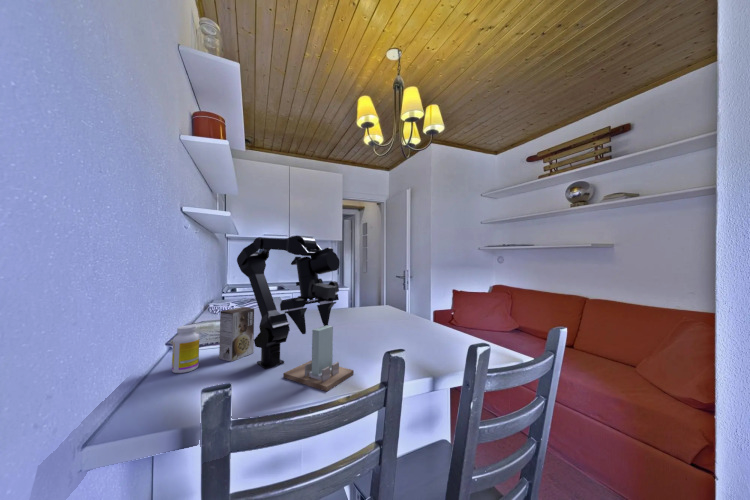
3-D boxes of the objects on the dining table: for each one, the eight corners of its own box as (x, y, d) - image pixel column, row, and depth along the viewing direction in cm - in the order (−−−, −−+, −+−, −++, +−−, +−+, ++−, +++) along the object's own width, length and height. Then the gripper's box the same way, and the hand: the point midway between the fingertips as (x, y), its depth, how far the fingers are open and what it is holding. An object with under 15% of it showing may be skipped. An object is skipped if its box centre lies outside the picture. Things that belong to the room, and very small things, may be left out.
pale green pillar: (309, 376, 73) (310, 329, 74) (323, 369, 78) (324, 324, 79) (320, 380, 71) (321, 331, 72) (334, 372, 76) (335, 326, 77)
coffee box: (241, 350, 97) (242, 306, 98) (254, 353, 95) (255, 307, 96) (218, 359, 89) (219, 310, 90) (231, 362, 87) (233, 312, 87)
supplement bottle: (203, 366, 83) (205, 324, 83) (184, 375, 76) (185, 330, 77) (186, 364, 84) (188, 323, 85) (165, 372, 78) (167, 328, 78)
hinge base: (283, 377, 75) (283, 362, 76) (312, 363, 86) (313, 350, 86) (326, 391, 67) (327, 374, 68) (353, 374, 78) (353, 359, 78)
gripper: (305, 273, 67) (313, 336, 65) (348, 271, 83) (356, 321, 81) (275, 280, 72) (282, 339, 70) (321, 277, 89) (328, 324, 86)
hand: (315, 330), depth 77 cm, fingers open, 9 cm apart
